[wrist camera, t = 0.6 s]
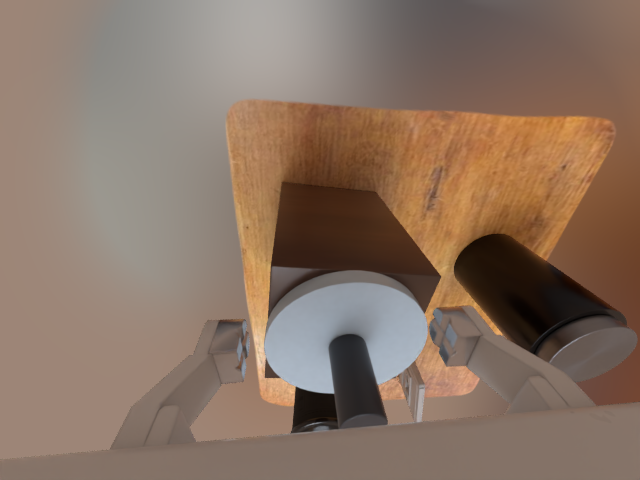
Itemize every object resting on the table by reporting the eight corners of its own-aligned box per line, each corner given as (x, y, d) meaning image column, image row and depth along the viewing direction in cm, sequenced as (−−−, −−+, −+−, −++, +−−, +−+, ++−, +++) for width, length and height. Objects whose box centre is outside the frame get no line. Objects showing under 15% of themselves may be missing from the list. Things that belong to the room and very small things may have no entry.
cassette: (398, 342, 45) (416, 386, 38) (409, 341, 45) (428, 384, 38) (397, 383, 51) (412, 427, 45) (407, 381, 51) (423, 425, 45)
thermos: (470, 230, 35) (579, 320, 21) (531, 236, 36) (669, 324, 23) (444, 285, 39) (521, 387, 26) (499, 288, 41) (600, 387, 27)
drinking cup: (324, 361, 46) (342, 526, 29) (283, 352, 44) (276, 524, 27) (345, 333, 43) (379, 499, 26) (302, 321, 41) (308, 494, 23)
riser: (282, 182, 29) (270, 265, 16) (376, 192, 31) (441, 276, 17) (276, 262, 35) (264, 378, 21) (357, 268, 36) (395, 378, 23)
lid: (269, 264, 16) (256, 356, 10) (443, 275, 17) (511, 360, 12) (263, 379, 21) (252, 478, 16) (396, 379, 23) (427, 469, 17)
